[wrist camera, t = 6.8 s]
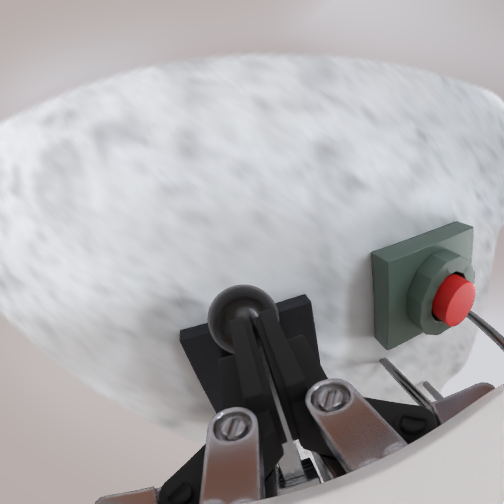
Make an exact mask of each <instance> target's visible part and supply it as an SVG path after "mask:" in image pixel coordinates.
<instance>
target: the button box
mask: <svg viewBox="0 0 504 504" xmlns="http://www.w3.org/2000/svg"><path fill="white" fill-rule="evenodd" d="M472 250H473V227H472V226H469V225H466V224H463V223H460V222H457V221H456V222H454V223H451V224H448V225H446V226H443V227H440V228H438V229H435V230H432V231H430V232H427V233H424V234H422V235H419V236H416V237H413V238H411V239H408V240H405V241H402V242H399V243H397V244H394V245H391V246H388V247H385V248H382V249H380V250H377V251H374V252H372V253H371V254H372V268H373V285H374V314H375V338H376V339H377V340H378V341H379V342H380V343H381V345H382V346H383V347H384V348H385V349H386V350H390V349H392V348H394V347H396V346H398V345H400V344H402V343H404V342H406V341H408V340H410V339H411V338H413V337H415V336H417V335H419V334H421V333H423V332H424V333H425V334H430V335H439V334H441V333H442V332H444V331H446V330H447V329H449V328H450V327H452V326H448V325H447V324H445V323H444V322H443V321H441V320H440V319H439V318H437V317H436V316H435V315H434V314H433V312H432V301H433V299H434V297H435V294H436V292H437V290H438V287H439V286H440V285H441V284H442V282H443V281H444V280H445V279H446V277H447V276H449V275H451V274H457V275H459V276H460V277H462V278H464V279H466V280H468V281H469V282H471V283H473V285H474V278H475V272H474V269H473V266H472Z"/></svg>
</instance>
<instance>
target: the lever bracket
mask: <svg viewBox="0 0 504 504" xmlns="http://www.w3.org/2000/svg"><path fill="white" fill-rule="evenodd" d="M275 305H276V307H277V309H278V313H279V323H280V325H281V328H282V330H283V332H284V334H285V336H286V338H287V339H289V338H293V337H296V336H299V335H304V337H305V339H306V340H307V342H308V344H309V346H310V348H311V349H312V351H313V353H314V355H315V357H316V358H317V360H318V362H319V364H320V358H319V351H318V344H317V337H316V331H315V324H314V318H313V312H312V305H311V301H310V300H309V299H308V297H307V296H306V295H305V294H304V295H301V296H298V297H295V298H291V299H288V300H285V301H282V302H279V303H276V304H275ZM180 342H181V344H182V346H183V349H184V351H185V353H186V355H187V357H188V359H189V361H190V363H191V365H192V367H193V369H194V371H195V373H196V375H197V377H198V379H199V381H200V383H201V385H202V387H203V389H204V391H205V393H206V395H207V396H208V398H209V400H210V402H211V404H212V406H213V408H214V409H215V411H216V413H217V414H218V413H219V412H221V411H223V403H222V394H221V385H220V375H219V365H218V359H219V358H223V357H227V356H231V355H235V354H233V353H230V352H228V351H226V350H224V349H222V348H221V347H220V346H219V345H218V344H217V343H216V342H215V341H214V339H213V338H212V336H211V334H210V331H209V327H208V323H207V324H203V325H199V326H195V327H191V328H188V329H184V330H180ZM311 452H312V454H313V457H314V459H315V462H316V464H317V466H318V469H319V471H320V474H321V476H322V479H323V481H324V482H327V481H330V480H332V479H331V478H330V476H329V475H328V473H327V472H326V470H325V469H324V467H323V466H322V464H321V463H320V461H319V459H318V458H317V456H316V454H315V452H313V451H311Z"/></svg>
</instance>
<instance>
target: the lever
mask: <svg viewBox="0 0 504 504" xmlns="http://www.w3.org/2000/svg"><path fill="white" fill-rule="evenodd" d="M272 308H273V310H274V312H275V315H276V317H277V319H278V321H279V313H278V309H277V307H276V305H275V303H274V301H273V300H272V298H271V297H270V296H269V295H268V294H267V293H266V292H264V291H263V290H261V289H259V288H257V287H254V286H250V285H236V286H232V287H230V288H227V289H225V290H224V291H222V292H221V293H220V294H219V295H218V296H217V297H216V298H215V299H214V301H213V302H212V304H211V306H210V309H209V313H208V327H209V331H210V334H211V336H212V338H213V339H214V341H215V342H216V343H217V344H218V345H219V346H220V347H221V348H222V349H224V350H226V351H228V352H230V353H233V354H235V353H234V347H233V341H232V335H231V329H230V323H229V321H230V320H234V319H237V318H241V317H243V318H244V320H248V319H250V322H251V325H252V329H253V332H254V335H255V338H256V342H257V345H258V348H259V352H260V355H261V358H262V361H263V365H264V368H265V371H266V374H267V378H268V381H269V384H270V387H271V391H272V394H273V397H274V400H275V404H276V407H277V410H278V413H279V416H280V419H281V423H282V426H283V429H284V432H285V435H286V438H287V441H288V442H287V443H284V444H282V446H283V449H284V455H283V456H282V458H281V459H280V460H279V462H278V466H279V467H278V473H279V486H280V495H284V494H288V493H292V492H295V491H299V490H302V489H305V488H309V487H312V486H315V485H318V484H321V481H320V478H319V476H318V473H317V471H316V469H315V467H314V465H313V463H312V461H311V459H310V458H307V459H304V460H301V459H300V456H299V453H298V450H297V447H296V444H295V440H294V441H293V440H292V437H291V434H290V431H289V428H288V425H287V422H286V419H285V416H284V413H283V410H282V407H281V404H280V401H279V398H278V395H277V392H276V389H275V386H274V383H273V380H272V377H271V374H270V370H269V367H268V364H267V360H266V357H265V353H264V350H263V347H262V343H261V340H260V336H259V333H258V329H257V326H256V323H255V319H254V318H255V317H258V316H259V312H262V311H265V310H268V309H272Z"/></svg>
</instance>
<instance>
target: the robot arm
mask: <svg viewBox="0 0 504 504" xmlns="http://www.w3.org/2000/svg"><path fill="white" fill-rule="evenodd" d="M254 319H255V323H256V326H257V329H258V333H259V336H260V340H261V343H262V347H263V350H264V353H265V357H266V360H267V364H268V367H269V370H270V374H271V377H272V380H273V383H274V386H275V389H276V392H277V395H278V398H279V401H280V404H281V407H282V410H283V413H284V416H285V419H286V422H287V425H288V428H289V431H290V434H291V437H292V440H293V441H294V440H297V439H299V441H300V444H301V446H303V448H304V449H307V450H310V451H313V452H315V454H316V456H317V458H318V459H319V461H320V463H321V464H322V466H323V467H324V469H325V470H326V472H327V473H328V475H329V476H330V478H331V479H332V480H330V481H327V482H324V483H321V484H318V485H315V486H312V487H309V488H305V489H302V490H299V491H295V492H292V493H288V494H284V495H280V486H279V473H278V466H277V463H278V462H279V460H280V459H281V458H282V456H283V455H284V449H283V446H282V444H284V443H287V442H288V441H287V438H286V435H285V432H284V429H283V426H282V423H281V419H280V416H279V413H278V410H277V407H276V404H275V400H274V397H273V394H272V391H271V387H270V384H269V381H268V378H267V374H266V371H265V368H264V365H263V361H262V358H261V355H260V352H259V348H258V345H257V342H256V338H255V335H254V332H253V329H252V325H251V322H250V319H248V320H244V318H243V317H241V318H237V319H234V320H230V321H229V323H230V329H231V335H232V341H233V347H234V353H235V355H231V356H227V357H223V358H219V359H218V365H219V375H220V385H221V394H222V403H223V411H221V412H219V413H218V414H216V415H215V416H214V417H213V418H212V420H211V421H210V423H209V426H208V431H207V439H206V444H205V445H204V446H203V447H202V448H201V449H200V450H199V451H198V452H197V453H196V454H195V455H194V456H193V457H192V458H191V459H190V460H189V461H188V462H187V463H186V464H185V465H184V466H182V467H181V468H180V469H179V470H178V471H177V472H176V473H175V474H174V475H173V476H172V477H171V478H170V479H168V480H167V481H166V482H165V483H164V485H163V486H162V487H161V488H157V489H156V488H154V487H150V488H145V489H141V490H136V491H131V492H125V493H119V494H113V495H107V496H104V497H100V498H99V499H98V500H97V501H96V502H95V504H504V384H503V385H501V386H499V387H497V388H495V387H494V386H493V385H491V384H489V383H479V384H475V385H473V386H471V387H469V388H467V389H464V390H462V391H460V392H457V393H455V394H452V395H450V396H448V397H445V398H442V399H440V400H437V401H435V402H432V403H431V405H430V406H428V407H426V408H425V407H422V406H417V405H409V404H402V403H395V402H389V401H383V400H377V399H371V398H366V397H363V396H362V395H361V394H360V393H359V392H358V391H357V390H356V389H355V388H354V387H353V386H352V385H351V384H350V383H348V382H347V381H344V380H342V379H334V378H333V379H328V378H327V376H326V374H325V373H324V371H323V369H322V367H321V365H320V364H319V362H318V360H317V358H316V357H315V355H314V353H313V351H312V349H311V348H310V346H309V344H308V342H307V340H306V339H305V337H304V335H299V336H296V337H293V338H289V339H287V338H286V336H285V334H284V332H283V330H282V328H281V325H280V323H279V321H278V319H277V317H276V315H275V312H274V310H273V308H272V309H268V310H265V311H262V312H259V316H258V317H255V318H254Z"/></svg>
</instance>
